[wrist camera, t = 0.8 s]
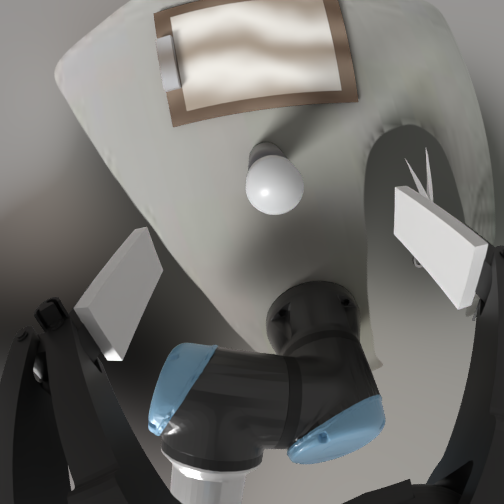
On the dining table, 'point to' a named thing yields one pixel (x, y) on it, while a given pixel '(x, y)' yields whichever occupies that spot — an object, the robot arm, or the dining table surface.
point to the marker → (272, 180)
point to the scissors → (423, 192)
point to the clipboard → (252, 56)
